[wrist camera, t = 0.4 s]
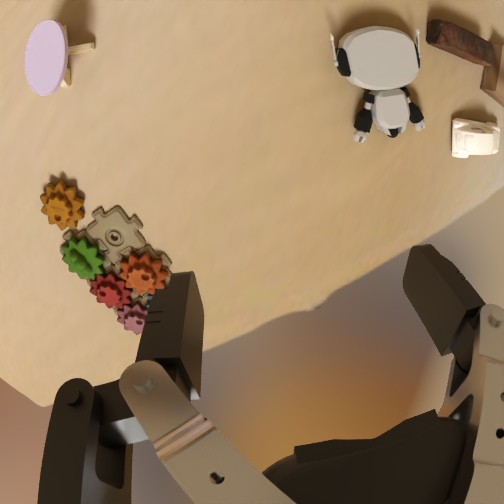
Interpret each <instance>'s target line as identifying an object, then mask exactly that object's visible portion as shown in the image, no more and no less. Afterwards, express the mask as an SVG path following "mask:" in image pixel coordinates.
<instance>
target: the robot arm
mask: <svg viewBox="0 0 504 504" xmlns="http://www.w3.org/2000/svg"><path fill="white" fill-rule="evenodd" d="M403 288H404V292H405V294H406V295H407V297H408V299H409V300H410V302H411V303H412V305H413V307H414V308H415V310H416V312H417V313H418V315H419V317H420V319H421V320H422V322H423V324H424V325H425V327H426V329H427V331H428V333H429V334H430V336H431V338H432V340H433V341H434V343H435V345H436V347H437V349H438V351H439V352H440V354H441V356H444V355H447V354H450V353H453V354H454V357H453V359H452V361H451V366H450V372H449V377H448V383H447V388H446V393H445V397H444V401H443V404H442V407H441V408H440V410H439V412H438V414H437V413H436V411H435V409H433V410H431V411H428V412H426V413H423V414H420V415H418V416H415V417H412V418H409V419H406V420H404V421H403V422H401V423H400V424H398V425H397V426H395V427H393V428H392V429H390V430H388V431H387V432H385V433H384V434H382V435H380V436H378V437H376V438H374V439H361V440H360V439H358V440H357V439H355V440H340V439H339V440H337V439H334V440H328V441H323V442H318V443H312V444H306V445H300V446H295V447H294V454H293V455H290V456H287V457H285V458H283V459H281V460H279V461H277V462H276V463H274V464H273V465H271V466H270V467H268V468H267V469H266V470H265V471H263V472H262V473H261V472H259V471H258V470H257V469H256V468H255V467H254V466H253V465H252V464H251V463H250V462H249V461H248V460H247V459H246V458H245V457H244V456H243V455H242V454H241V453H240V452H238V450H237V449H236V448H235V447H234V446H233V445H232V444H231V443H230V442H229V441H228V440H227V439H226V438H225V437H224V436H223V435H222V434H221V433H220V432H219V430H218V429H217V428H216V427H215V426H214V425H213V424H212V423H211V422H210V421H209V420H207V419H206V418H204V417H203V416H202V415H201V414H200V413H199V412H198V411H197V410H196V408H195V407H194V406H193V405H192V404H191V402H190V401H191V399H200V391H201V366H202V347H203V330H204V310H203V304H202V300H201V297H200V293H199V289H198V285H197V282H196V278H195V274H194V272H193V271H190V272H180V273H172V274H171V276H170V281H169V285H168V289H159V290H158V291H157V292H156V293H155V295H154V296H153V297H152V299H151V300H150V303H149V307H148V311H147V315H146V319H145V324H144V327H143V331H142V335H141V339H140V343H139V348H138V352H137V357H136V360H135V363H133V364H131V365H130V366H128V367H127V368H126V369H125V370H124V372H123V373H122V375H121V377H120V379H118V380H116V381H113V382H109V383H106V384H102V385H98V386H94V387H93V386H92V385H91V384H90V383H89V382H88V381H86V380H85V379H81V378H75V379H71V380H69V381H67V382H65V383H64V384H63V385H62V386H61V387H60V388H59V390H58V392H57V394H56V397H55V401H54V405H53V409H52V413H51V418H50V422H49V427H48V432H47V437H46V442H45V448H44V454H43V460H42V467H41V474H40V482H39V492H38V504H131V479H132V453H133V443H136V442H140V441H144V440H148V439H150V440H151V442H152V443H153V445H154V447H155V449H156V450H155V451H156V454H157V456H158V457H159V459H160V460H161V462H162V463H163V464H164V466H165V467H166V469H167V470H168V471H169V473H170V474H171V475H172V476H173V478H174V479H175V480H176V482H177V483H178V484H179V485H180V486H181V488H182V489H183V490H184V491H185V493H186V494H187V495H188V496H189V497H190V499H191V500H192V501H193V502H194V503H195V504H504V309H503V308H501V307H499V306H497V305H494V304H487V305H486V304H485V302H484V301H483V300H482V298H481V297H480V296H479V294H478V293H477V292H476V291H475V290H474V288H473V287H472V286H471V285H470V283H469V282H468V281H467V280H465V277H464V276H463V274H462V273H460V271H459V270H458V268H457V267H456V266H455V265H454V264H453V263H452V262H451V261H449V260H448V259H447V258H445V257H444V256H442V255H440V253H439V252H438V251H437V250H436V249H435V248H434V247H433V246H432V245H431V244H426V245H418V246H413V247H412V248H411V250H410V253H409V257H408V261H407V265H406V269H405V273H404V277H403Z"/></svg>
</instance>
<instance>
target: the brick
mask: <svg viewBox="0 0 504 504" xmlns="http://www.w3.org/2000/svg"><path fill="white" fill-rule="evenodd" d="M426 41H427V43H428V44H430V45H432V46H434V47H437V48H439V49H442V50H444V51H447V52H449V53H452V54H454V55H456V56H459V57H461V58H463V59H466V60H468V61H470V62H472V63H475V64H480V65H486V66H491V65H493V64H494V59H493V45H492V44H491V43H490V42H488V41H486V40H484V39H483V38H481V37H479V36H477V35H475V34H473V33H471V32H469V31H467V30H465V29H463V28H461V27H459V26H457V25H455V24H453V23H450V22H447V21H446V22H445V21H441V20H432V21H430V23H428V33H427V38H426Z"/></svg>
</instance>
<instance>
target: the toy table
mask: <svg viewBox="0 0 504 504" xmlns="http://www.w3.org/2000/svg"><path fill="white" fill-rule="evenodd" d="M90 50H94V43H86V44H80V45H75V46H70V47H68V39H67V26H66V25H63V26H62V25H61V24H60V23H59V22H57V21H55V20H49V19H48V20H44V21H42V22H41V23H39V24H38V25H37V26H36V28H35V29H34V30H33V32H32V33H31V36H30V38H29V40H28V43H27V47H26V51H25V59H24V65H25V74H26V78H27V82H28V84H29V86H30V88H31V89H32V91H33V92H34V93H36V94H37V95H40V96H46V95H50V94H52V93H54V92H55V91H56V90H57V89H58V87H59V86H60V85H61V86H62V87H63V88H65V87H68V86H70V85H71V79H70V69H69V68H67V64H68V55H73V54H81V53H84V52H87V51H90Z"/></svg>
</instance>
